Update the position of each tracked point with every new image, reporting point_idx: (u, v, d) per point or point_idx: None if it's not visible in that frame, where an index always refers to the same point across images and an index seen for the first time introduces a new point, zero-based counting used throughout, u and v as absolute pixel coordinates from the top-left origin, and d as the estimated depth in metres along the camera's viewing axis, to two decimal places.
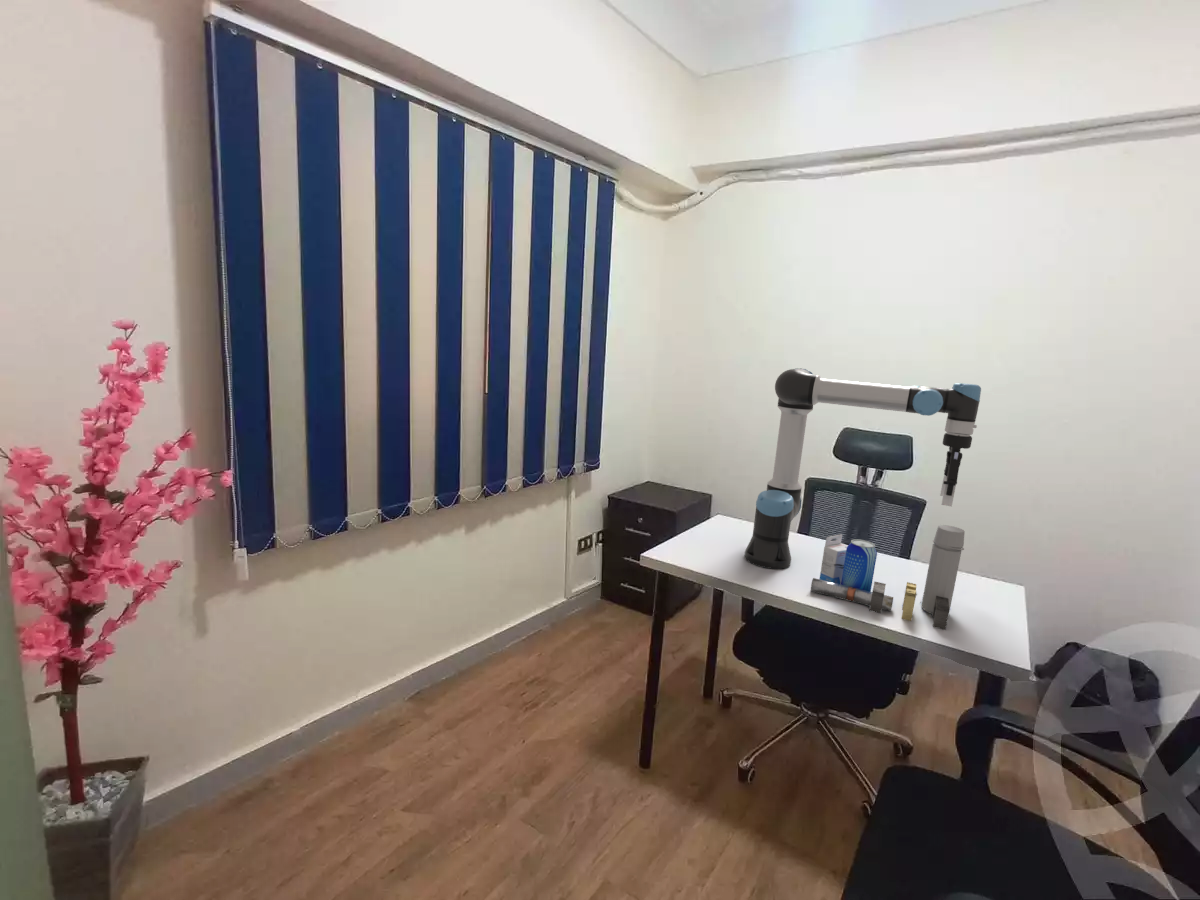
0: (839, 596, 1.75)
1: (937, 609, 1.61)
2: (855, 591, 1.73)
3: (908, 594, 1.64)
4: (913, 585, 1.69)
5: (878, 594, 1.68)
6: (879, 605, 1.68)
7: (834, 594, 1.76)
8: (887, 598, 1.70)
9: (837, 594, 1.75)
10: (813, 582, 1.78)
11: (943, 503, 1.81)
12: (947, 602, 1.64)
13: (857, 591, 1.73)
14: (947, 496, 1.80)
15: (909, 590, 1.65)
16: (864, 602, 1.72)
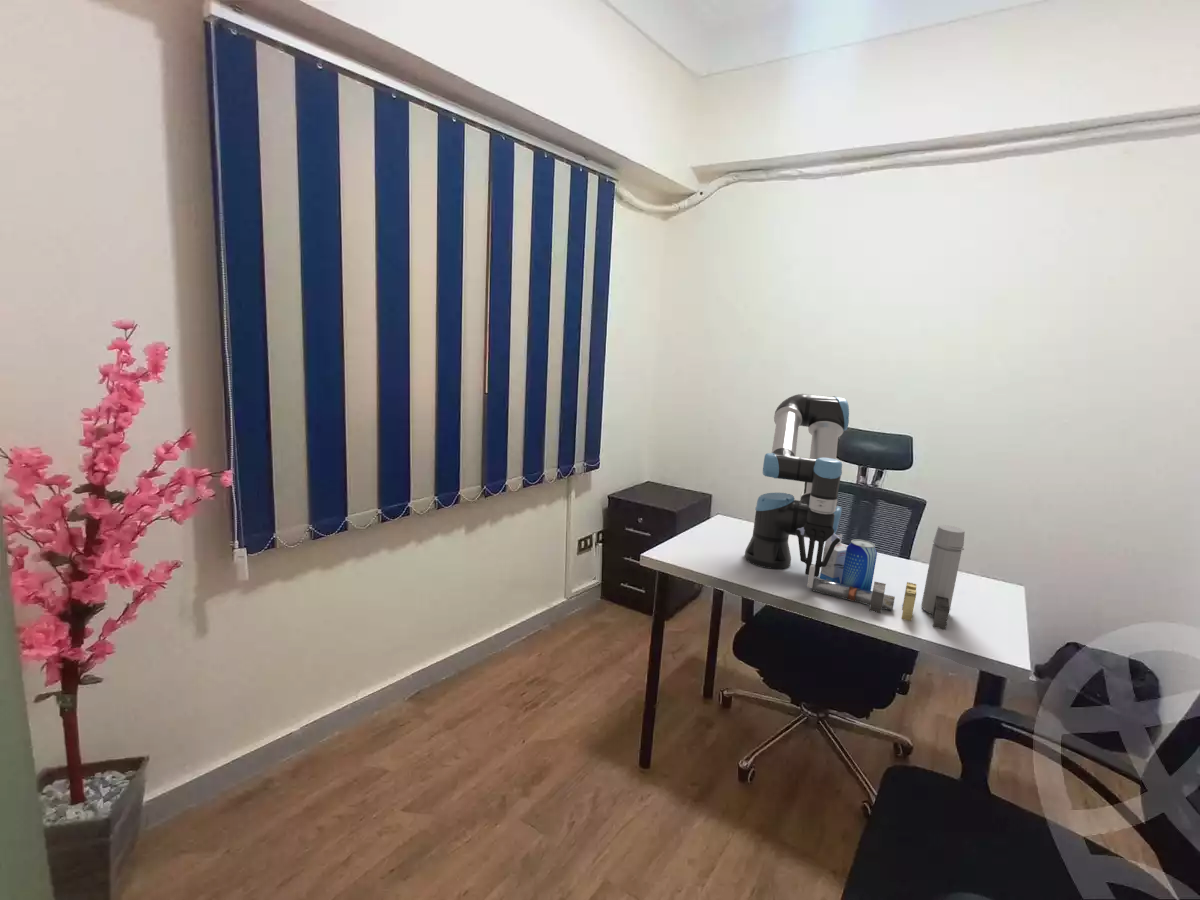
0: (841, 594, 1.75)
1: (937, 609, 1.61)
2: (857, 589, 1.74)
3: (908, 594, 1.64)
4: (913, 585, 1.69)
5: (878, 594, 1.68)
6: (879, 605, 1.68)
7: (836, 592, 1.76)
8: (888, 596, 1.70)
9: (838, 592, 1.75)
10: (815, 580, 1.79)
11: None
12: (947, 602, 1.64)
13: (859, 589, 1.74)
14: None
15: (909, 590, 1.65)
16: (866, 600, 1.72)
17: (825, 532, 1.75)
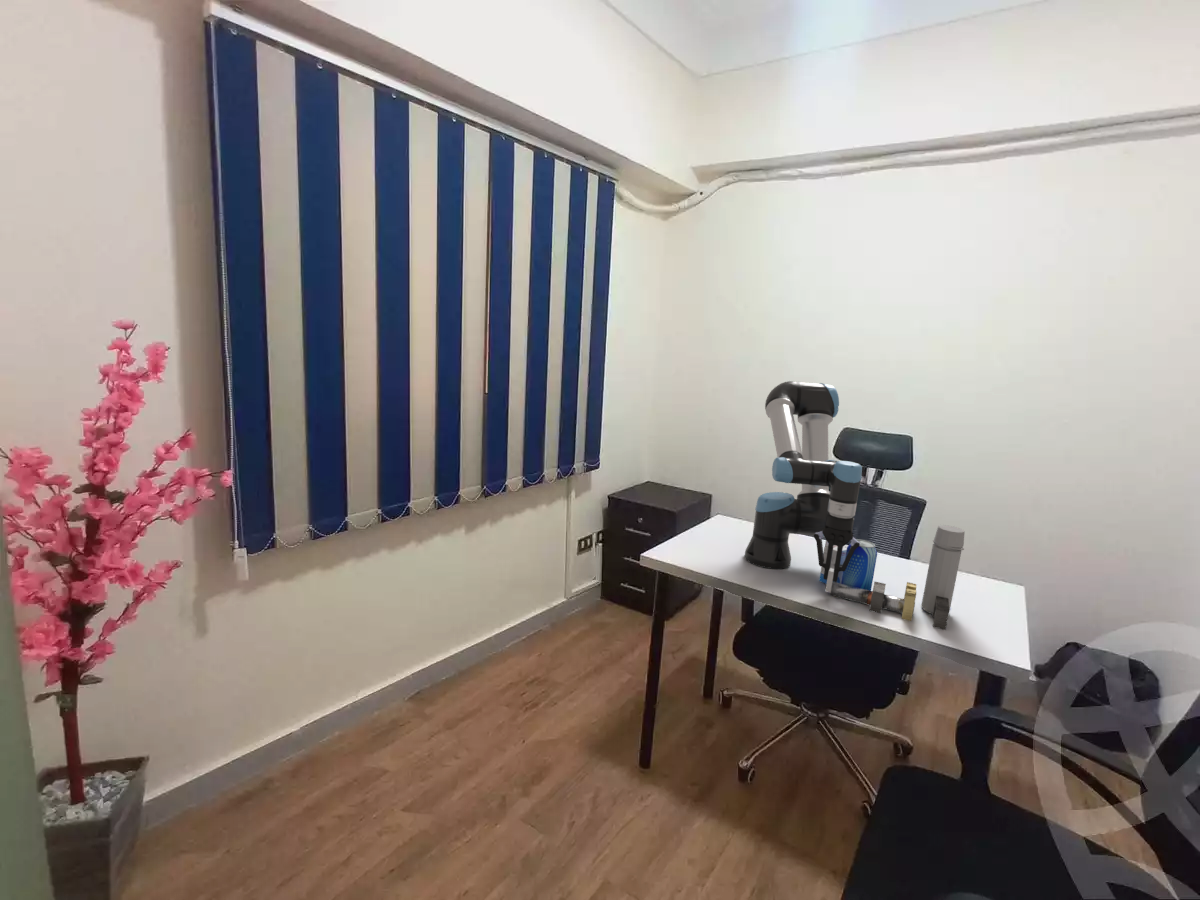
0: (860, 599, 1.73)
1: (937, 609, 1.61)
2: None
3: (908, 594, 1.64)
4: (913, 585, 1.69)
5: (878, 594, 1.68)
6: (879, 605, 1.68)
7: (854, 597, 1.74)
8: None
9: (857, 597, 1.73)
10: (833, 584, 1.77)
11: None
12: (947, 602, 1.64)
13: None
14: None
15: (909, 590, 1.65)
16: (885, 605, 1.70)
17: (844, 536, 1.73)
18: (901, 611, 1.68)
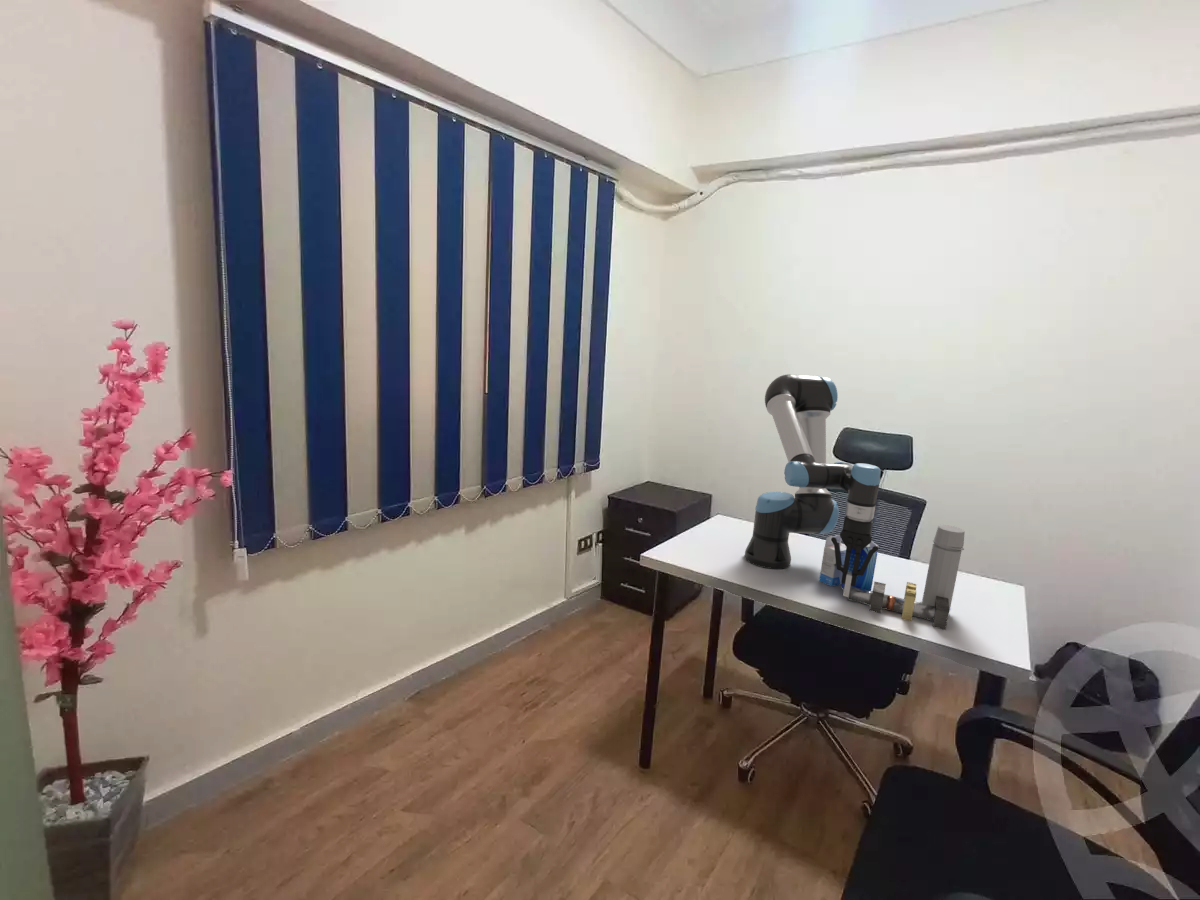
0: None
1: (937, 609, 1.61)
2: (895, 598, 1.69)
3: (908, 594, 1.64)
4: (913, 585, 1.69)
5: (878, 594, 1.68)
6: (879, 605, 1.68)
7: None
8: (929, 606, 1.66)
9: None
10: (851, 589, 1.74)
11: None
12: (947, 602, 1.64)
13: (897, 599, 1.69)
14: (845, 584, 1.76)
15: (909, 590, 1.65)
16: None
17: (863, 540, 1.70)
18: (921, 616, 1.66)
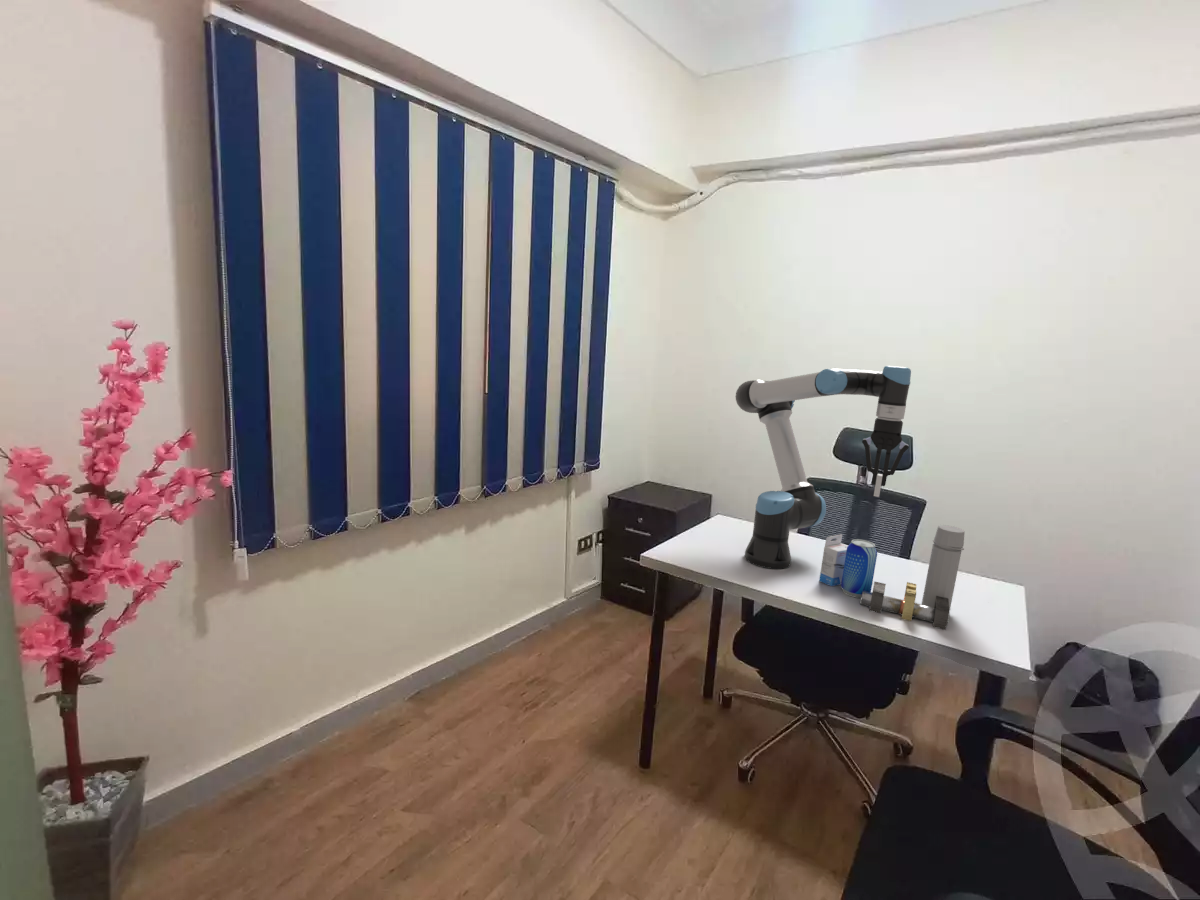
0: (891, 611, 1.69)
1: (937, 609, 1.61)
2: None
3: (908, 594, 1.64)
4: (913, 585, 1.69)
5: (878, 594, 1.68)
6: (879, 605, 1.68)
7: (886, 609, 1.69)
8: None
9: (888, 609, 1.69)
10: (863, 597, 1.71)
11: None
12: (947, 602, 1.64)
13: None
14: None
15: (909, 590, 1.65)
16: (918, 617, 1.66)
17: (893, 440, 1.76)
18: None
